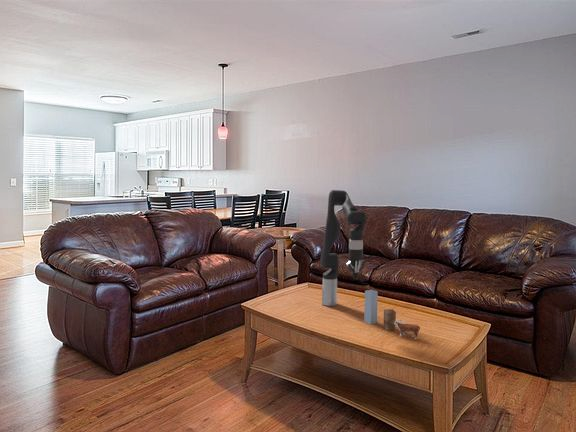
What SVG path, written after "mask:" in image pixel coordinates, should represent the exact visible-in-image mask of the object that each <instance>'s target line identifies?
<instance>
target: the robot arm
mask: <svg viewBox="0 0 576 432" xmlns="http://www.w3.org/2000/svg"><path fill="white" fill-rule="evenodd" d="M327 199H328V200H327V201H328V202H327V215H326V223H325V228H324V237H323V245H322V248H321V249H322V250H321V254H320V261H319V262H320V266H321V268H322V269H328V270H326V271H325V272H323V273H322V290H321V305H322V306H323V305H324V306H327V307H333V306H334V307H335V306H337V305H338V303H337V302H338V299H337V298H338V297H337V296H338V274H339V262H340V261H339V255H338V254H337V253H336V252H331V251H330V250H331V248H332V247H333V246H334V245H335V243H336V242H337V241H338V239H339V237H340V235H341V223H340V221H339V218H338V217H337V214H336V212H335V206H338V207H339V206H341V210H342V212H343V214H344V215H345V217H346V222H347V223H348V224H350V225H357V226H356V227H353V228H350V229H349V239H348V241H349V242H348V257H349V258H348V262H346V263H345V266H346V268H347V269H348V271H349V272H350V273H352V279H353V280H359V272H361V271H362V269H363V268H364V266H365V264H366V261H365V260H363V256H364V255H363V254H364V241H363V235H364V229H365V226H366V222H367V213H366V212H365V211H364V210H358V208H357V207H356V206H355V205H354V204H353V202H352V200H351V197H350V196H349V194H348V192H347V191H345V190H341V189H339V190H338V189H337V190H336V189H332V190H330V191H329V194H328V198H327Z"/></svg>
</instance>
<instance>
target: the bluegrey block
mask: <svg viewBox="0 0 576 432" xmlns="http://www.w3.org/2000/svg"><path fill="white" fill-rule="evenodd" d="M378 293H379V292H378V291H377V290H373V289H368V290H367V289H366V290H364V318H363V319H364V320H363V321H364V322H365V323H367V324H368V325H373V324H377V322H378V298H379V295H378Z"/></svg>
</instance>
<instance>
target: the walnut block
mask: <svg viewBox="0 0 576 432" xmlns="http://www.w3.org/2000/svg"><path fill="white" fill-rule="evenodd" d="M396 314H397V312H396V311H395V310H394V308H393V309H392V308H391V309H390V308H387V309H383V323H382V324H383V328H384V330H385V331H396V324H394V323H395V321H396V320H397V318H396V317H397V315H396Z"/></svg>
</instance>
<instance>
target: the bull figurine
mask: <svg viewBox="0 0 576 432" xmlns="http://www.w3.org/2000/svg"><path fill="white" fill-rule="evenodd" d="M394 324H395V327H397V329H398V331H400V334H399V336H398V337H399V338H401V337H402V336H403V337H404V336H405V335H406V333H408V334H412V333H413V334H412V335H411V336H410V337H411V338H414V339H413V340H417V338H418V336H419V331H420V330H421V327H420V326H419V325H418V324H412V323H411V324H410V323H407V322H404V321H402V320H400V319H396V321H395V323H394ZM405 332H406V333H405Z"/></svg>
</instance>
